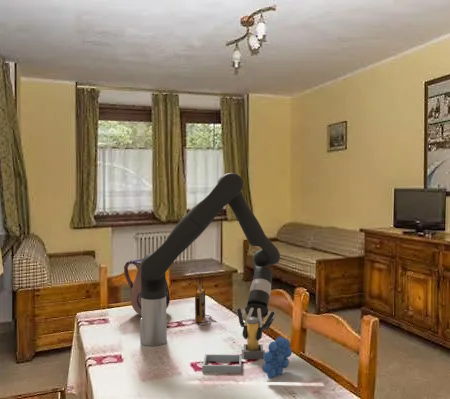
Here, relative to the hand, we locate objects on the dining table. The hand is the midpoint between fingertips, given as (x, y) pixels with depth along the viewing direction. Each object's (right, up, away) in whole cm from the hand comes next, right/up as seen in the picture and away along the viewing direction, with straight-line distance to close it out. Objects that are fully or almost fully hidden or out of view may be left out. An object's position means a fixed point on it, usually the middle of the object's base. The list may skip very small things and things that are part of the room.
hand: (251, 338), depth 143 cm
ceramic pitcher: (-45, -6, +51) cm, 68 cm away
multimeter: (-16, -6, +42) cm, 45 cm away
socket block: (+1, -7, +2) cm, 7 cm away
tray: (-10, -7, -7) cm, 14 cm away
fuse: (+1, -6, +2) cm, 6 cm away
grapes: (+7, -7, -12) cm, 16 cm away
